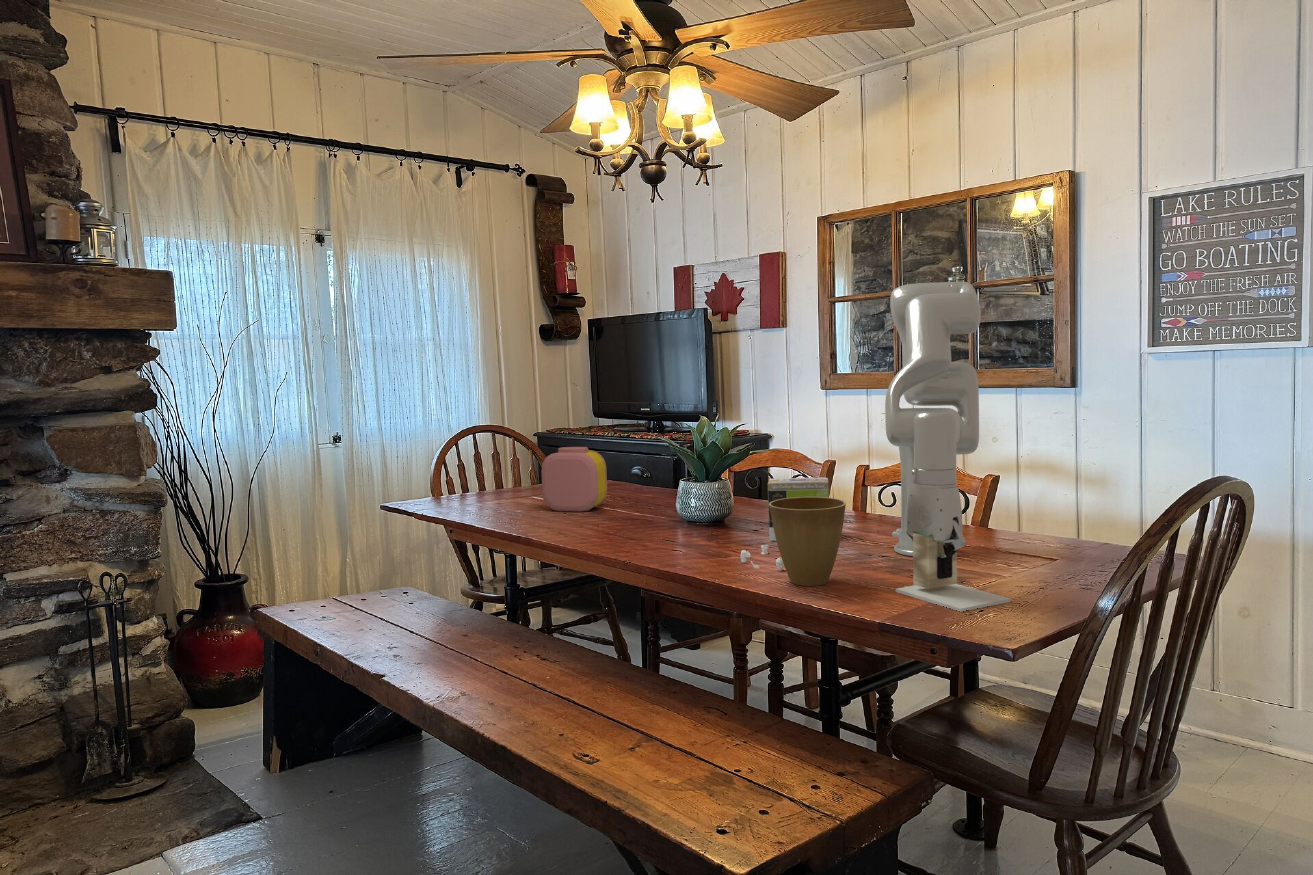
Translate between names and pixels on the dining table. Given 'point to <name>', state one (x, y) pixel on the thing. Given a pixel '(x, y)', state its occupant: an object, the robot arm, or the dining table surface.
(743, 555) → the game piece set
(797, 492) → the tea box
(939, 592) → the rubber mat
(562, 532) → the dining table surface
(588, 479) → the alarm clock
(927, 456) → the robot arm
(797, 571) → the plant pot
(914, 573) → the beige and green box
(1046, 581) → the dining table surface
